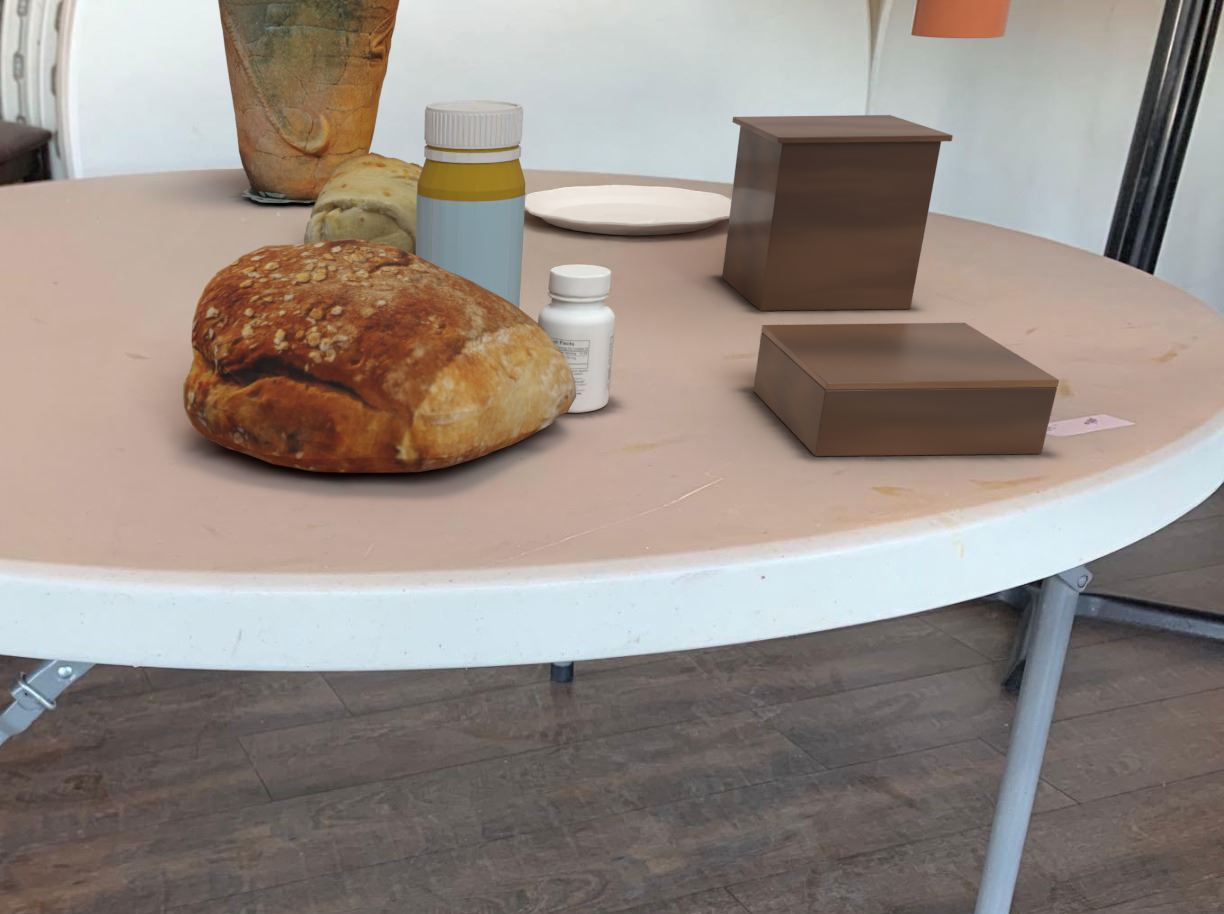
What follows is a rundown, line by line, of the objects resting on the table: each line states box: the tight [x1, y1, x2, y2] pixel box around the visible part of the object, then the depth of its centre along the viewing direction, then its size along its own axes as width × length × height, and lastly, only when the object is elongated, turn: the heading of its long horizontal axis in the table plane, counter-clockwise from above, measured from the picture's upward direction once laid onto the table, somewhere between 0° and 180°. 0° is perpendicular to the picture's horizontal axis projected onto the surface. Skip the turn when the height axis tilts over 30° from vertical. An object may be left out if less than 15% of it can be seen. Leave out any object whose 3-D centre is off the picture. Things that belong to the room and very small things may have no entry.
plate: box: [525, 184, 732, 236], centre depth 134 cm, size 21×21×2 cm
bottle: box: [416, 100, 526, 309], centre depth 92 cm, size 7×7×15 cm
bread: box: [182, 239, 576, 474], centre depth 76 cm, size 20×18×10 cm
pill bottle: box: [537, 263, 616, 414], centre depth 81 cm, size 4×4×8 cm
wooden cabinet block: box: [721, 114, 954, 312], centre depth 104 cm, size 12×12×12 cm
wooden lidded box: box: [753, 322, 1060, 457], centre depth 78 cm, size 12×12×4 cm
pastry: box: [302, 151, 423, 255], centre depth 120 cm, size 14×12×8 cm
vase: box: [217, 0, 400, 204], centre depth 141 cm, size 21×20×30 cm
